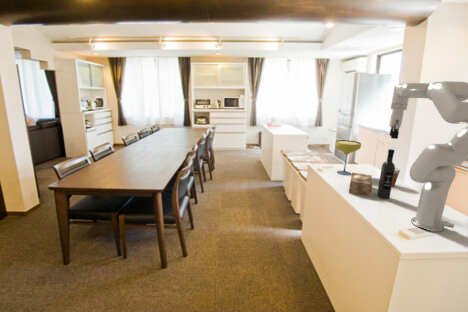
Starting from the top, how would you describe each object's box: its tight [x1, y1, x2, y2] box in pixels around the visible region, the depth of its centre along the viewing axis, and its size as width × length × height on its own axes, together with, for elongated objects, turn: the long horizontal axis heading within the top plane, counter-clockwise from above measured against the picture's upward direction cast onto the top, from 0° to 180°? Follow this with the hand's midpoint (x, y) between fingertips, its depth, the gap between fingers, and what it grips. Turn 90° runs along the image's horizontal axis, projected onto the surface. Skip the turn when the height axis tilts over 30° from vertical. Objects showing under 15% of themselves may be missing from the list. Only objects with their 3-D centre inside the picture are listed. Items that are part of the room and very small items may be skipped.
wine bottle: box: [376, 148, 396, 200], centre depth 148 cm, size 6×6×30 cm
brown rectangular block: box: [348, 172, 373, 198], centre depth 163 cm, size 12×20×8 cm, turn 152°
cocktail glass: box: [334, 139, 362, 176], centre depth 194 cm, size 18×18×25 cm
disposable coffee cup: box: [391, 167, 401, 188], centre depth 171 cm, size 10×10×12 cm
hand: (393, 137), depth 143 cm, fingers open, 9 cm apart
